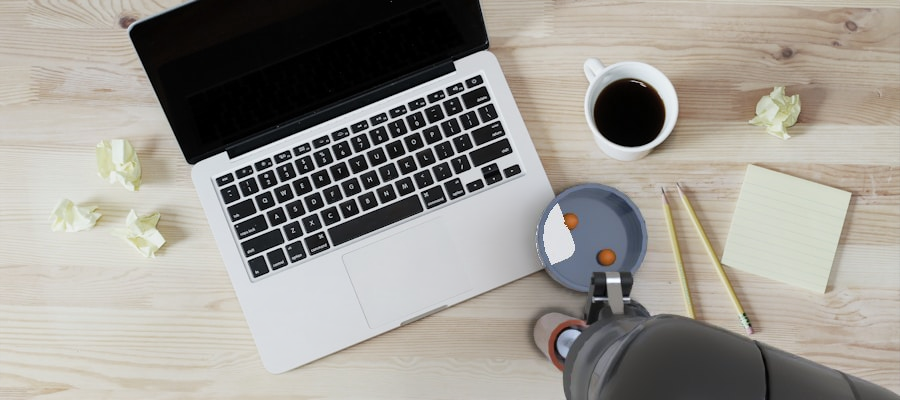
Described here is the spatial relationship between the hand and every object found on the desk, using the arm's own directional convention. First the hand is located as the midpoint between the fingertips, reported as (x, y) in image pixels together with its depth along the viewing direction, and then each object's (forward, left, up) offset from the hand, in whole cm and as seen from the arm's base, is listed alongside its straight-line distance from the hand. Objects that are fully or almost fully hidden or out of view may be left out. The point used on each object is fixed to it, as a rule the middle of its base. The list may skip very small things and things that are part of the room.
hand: (593, 358), depth 56 cm
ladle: (0, 0, -15) cm, 15 cm away
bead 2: (+9, -6, -29) cm, 31 cm away
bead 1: (+13, -2, -29) cm, 32 cm away
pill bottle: (+1, -7, -31) cm, 32 cm away
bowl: (+11, -4, -31) cm, 33 cm away
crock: (0, 0, -31) cm, 31 cm away
